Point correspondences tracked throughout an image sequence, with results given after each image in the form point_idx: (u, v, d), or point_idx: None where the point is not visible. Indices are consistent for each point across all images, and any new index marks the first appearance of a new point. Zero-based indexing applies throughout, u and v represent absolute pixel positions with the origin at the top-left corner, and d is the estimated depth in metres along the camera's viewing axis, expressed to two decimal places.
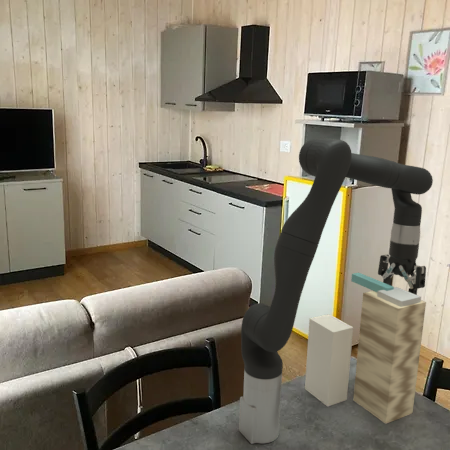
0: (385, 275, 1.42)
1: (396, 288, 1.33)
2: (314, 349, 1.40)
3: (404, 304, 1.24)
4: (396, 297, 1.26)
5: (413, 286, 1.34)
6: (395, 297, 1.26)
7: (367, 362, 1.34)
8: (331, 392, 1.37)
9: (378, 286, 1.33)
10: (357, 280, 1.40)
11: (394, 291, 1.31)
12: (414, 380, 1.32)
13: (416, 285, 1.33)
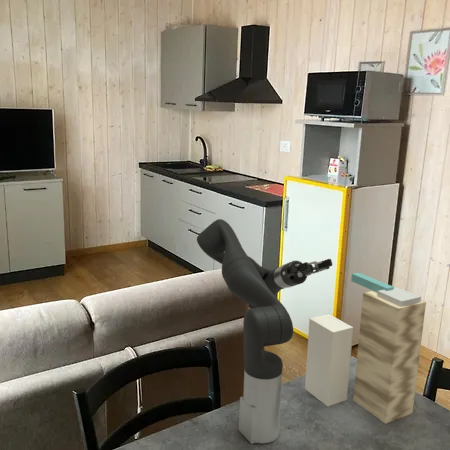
0: (297, 265, 1.49)
1: (396, 288, 1.33)
2: (314, 349, 1.40)
3: (404, 304, 1.24)
4: (396, 297, 1.26)
5: None
6: (395, 297, 1.26)
7: (367, 362, 1.34)
8: (331, 392, 1.37)
9: (378, 286, 1.33)
10: (357, 280, 1.40)
11: (394, 291, 1.31)
12: (414, 380, 1.32)
13: None
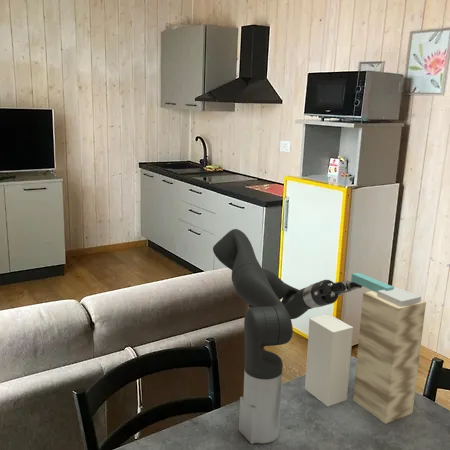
0: (330, 285, 1.45)
1: (396, 288, 1.33)
2: (314, 349, 1.40)
3: (404, 304, 1.24)
4: (396, 297, 1.26)
5: None
6: (395, 297, 1.26)
7: (367, 362, 1.34)
8: (331, 392, 1.37)
9: (378, 286, 1.33)
10: (357, 280, 1.40)
11: (394, 291, 1.31)
12: (414, 380, 1.32)
13: None
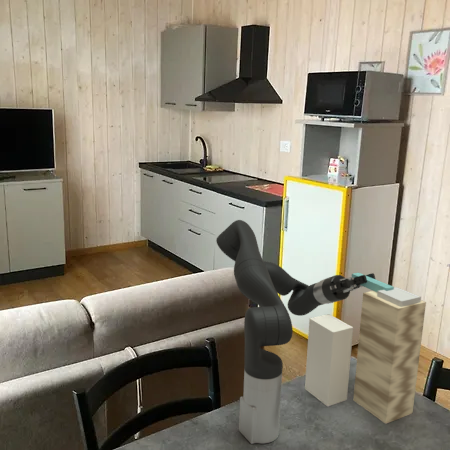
0: (352, 278, 1.41)
1: (396, 288, 1.33)
2: (314, 349, 1.40)
3: (404, 304, 1.24)
4: (396, 297, 1.26)
5: None
6: (395, 297, 1.26)
7: (367, 362, 1.34)
8: (331, 392, 1.37)
9: (378, 286, 1.33)
10: None
11: (394, 291, 1.31)
12: (414, 380, 1.32)
13: None
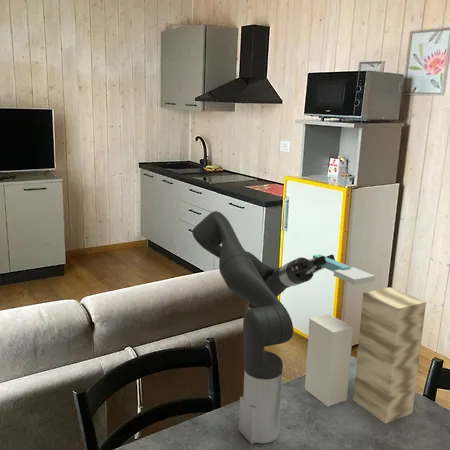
0: None
1: (353, 268, 1.36)
2: (314, 349, 1.40)
3: (357, 282, 1.28)
4: (350, 276, 1.30)
5: None
6: (350, 276, 1.29)
7: (367, 362, 1.34)
8: (331, 392, 1.37)
9: (335, 266, 1.37)
10: None
11: (350, 270, 1.34)
12: (414, 380, 1.32)
13: None
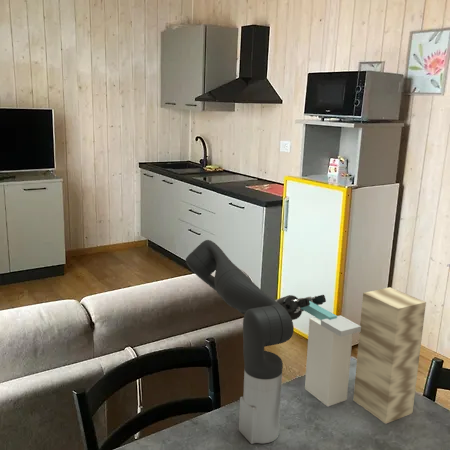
0: None
1: (340, 316, 1.38)
2: (314, 349, 1.40)
3: (344, 334, 1.30)
4: (337, 327, 1.32)
5: None
6: (336, 327, 1.31)
7: (367, 362, 1.34)
8: (331, 392, 1.37)
9: (322, 315, 1.39)
10: (305, 308, 1.45)
11: (337, 320, 1.36)
12: (414, 380, 1.32)
13: None
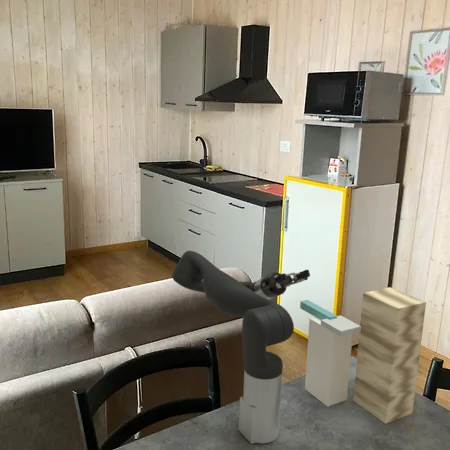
0: None
1: (340, 316, 1.38)
2: (314, 349, 1.40)
3: (344, 334, 1.30)
4: (337, 327, 1.32)
5: None
6: (336, 327, 1.31)
7: (367, 362, 1.34)
8: (331, 392, 1.37)
9: (322, 315, 1.39)
10: (305, 308, 1.45)
11: (337, 320, 1.36)
12: (414, 380, 1.32)
13: None
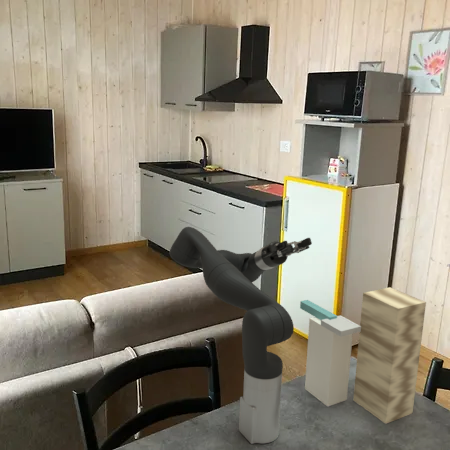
0: None
1: (340, 316, 1.38)
2: (314, 349, 1.40)
3: (344, 334, 1.30)
4: (337, 327, 1.32)
5: None
6: (336, 327, 1.31)
7: (367, 362, 1.34)
8: (331, 392, 1.37)
9: (322, 315, 1.39)
10: (305, 308, 1.45)
11: (337, 320, 1.36)
12: (414, 380, 1.32)
13: None
